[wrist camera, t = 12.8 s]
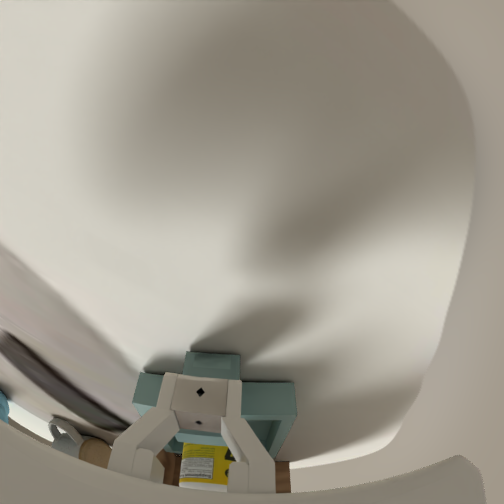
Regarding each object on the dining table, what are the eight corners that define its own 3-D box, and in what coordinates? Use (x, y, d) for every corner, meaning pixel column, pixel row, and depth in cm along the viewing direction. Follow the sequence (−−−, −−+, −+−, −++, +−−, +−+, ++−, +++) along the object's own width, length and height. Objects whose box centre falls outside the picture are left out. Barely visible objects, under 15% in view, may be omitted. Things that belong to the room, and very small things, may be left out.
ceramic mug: (124, 450, 30) (115, 493, 24) (93, 446, 32) (83, 484, 25) (68, 415, 25) (52, 465, 18) (42, 413, 27) (28, 454, 20)
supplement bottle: (256, 428, 20) (257, 520, 13) (205, 433, 21) (198, 518, 14) (232, 406, 17) (228, 518, 10) (175, 411, 18) (161, 511, 11)
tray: (128, 344, 15) (104, 418, 11) (302, 355, 15) (313, 436, 11) (168, 430, 22) (162, 475, 18) (273, 437, 23) (275, 483, 18)
